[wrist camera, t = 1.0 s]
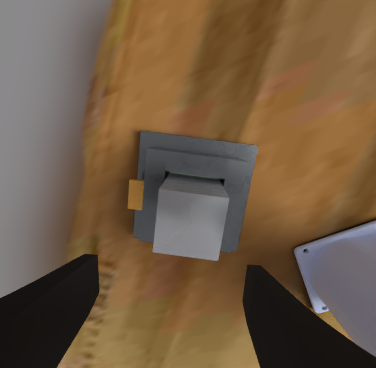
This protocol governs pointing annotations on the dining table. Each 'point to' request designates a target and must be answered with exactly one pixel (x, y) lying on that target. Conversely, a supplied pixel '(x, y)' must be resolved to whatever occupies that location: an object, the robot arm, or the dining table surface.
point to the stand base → (196, 165)
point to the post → (190, 216)
